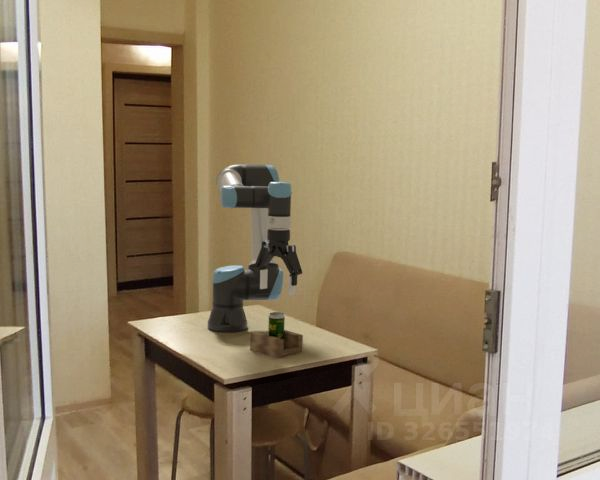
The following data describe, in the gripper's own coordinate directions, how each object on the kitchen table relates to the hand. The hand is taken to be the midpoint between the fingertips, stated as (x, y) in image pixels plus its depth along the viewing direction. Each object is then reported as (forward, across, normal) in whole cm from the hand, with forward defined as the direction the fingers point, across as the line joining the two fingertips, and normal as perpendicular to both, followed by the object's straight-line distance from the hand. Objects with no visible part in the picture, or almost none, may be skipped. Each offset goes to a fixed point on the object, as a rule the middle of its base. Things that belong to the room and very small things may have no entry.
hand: (277, 291), depth 230 cm
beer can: (+20, 0, 0) cm, 20 cm away
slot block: (+20, 0, 0) cm, 20 cm away
